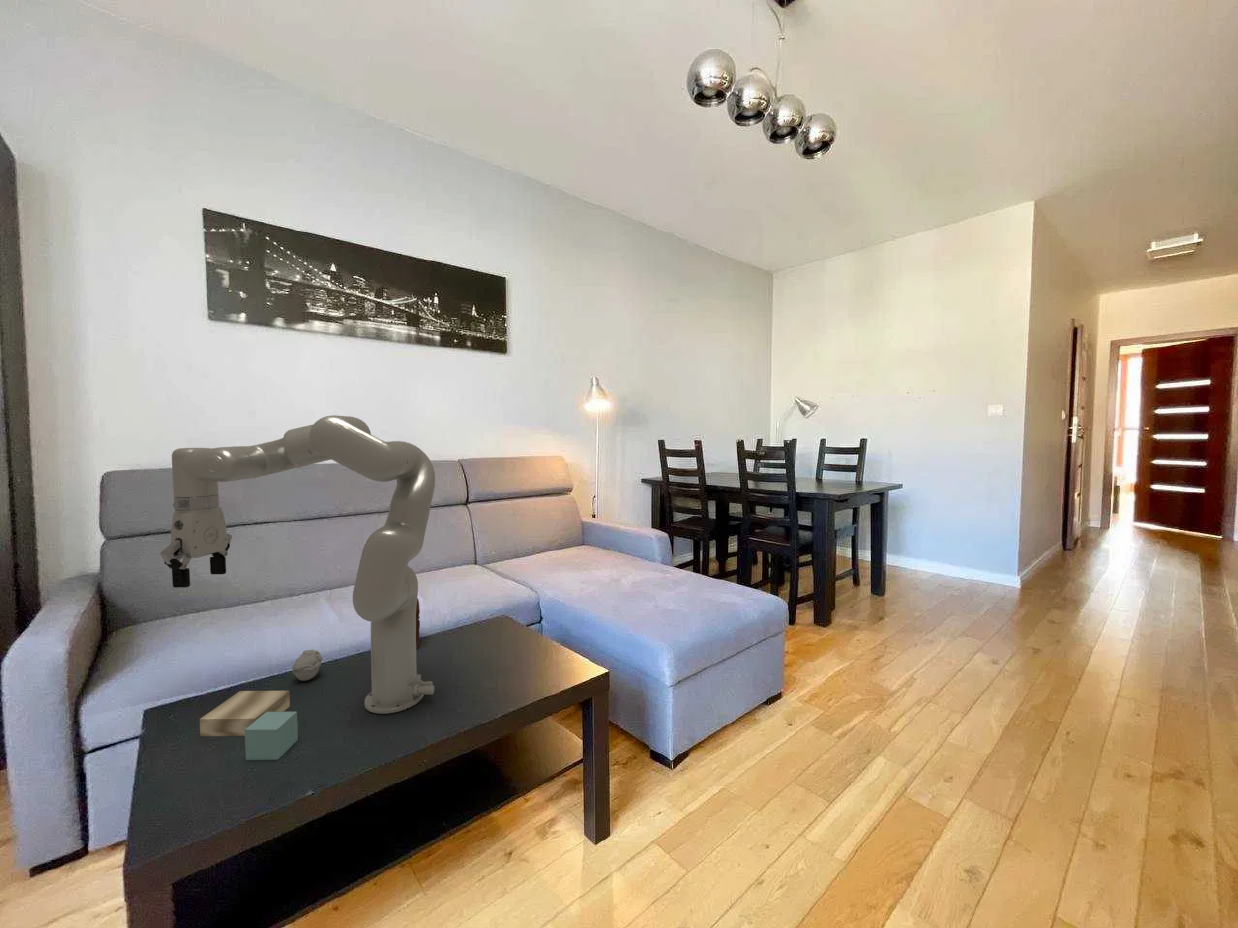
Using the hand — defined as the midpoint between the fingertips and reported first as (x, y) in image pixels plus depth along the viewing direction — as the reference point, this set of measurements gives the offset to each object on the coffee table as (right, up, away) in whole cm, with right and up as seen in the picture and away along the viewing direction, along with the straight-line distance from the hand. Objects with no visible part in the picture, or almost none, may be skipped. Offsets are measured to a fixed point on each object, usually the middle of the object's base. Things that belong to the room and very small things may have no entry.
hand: (200, 580), depth 109 cm
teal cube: (+25, -30, -13) cm, 41 cm away
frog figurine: (+15, -29, +14) cm, 35 cm away
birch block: (+13, -30, -4) cm, 33 cm away
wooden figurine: (+30, -27, +35) cm, 54 cm away
